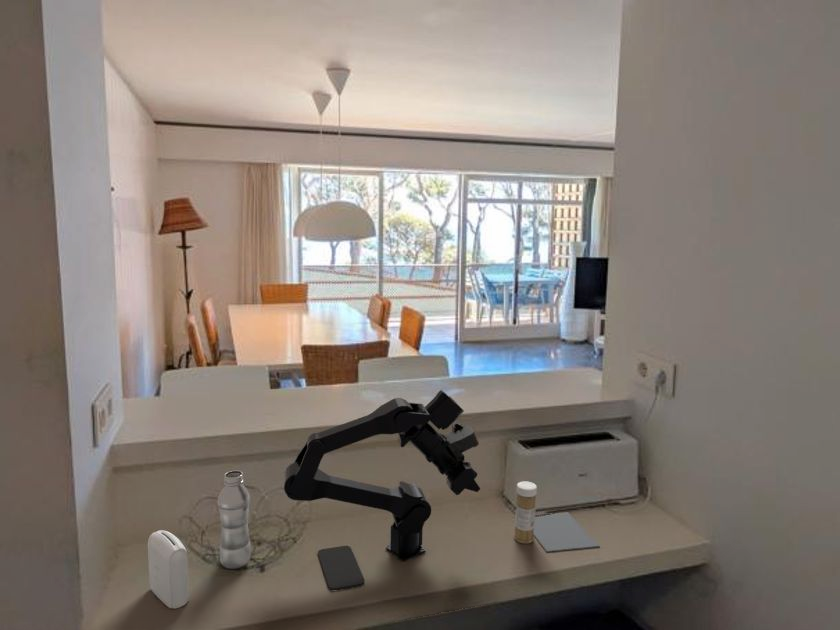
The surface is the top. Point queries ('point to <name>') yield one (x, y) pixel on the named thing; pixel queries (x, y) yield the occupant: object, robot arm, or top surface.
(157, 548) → the photo printer
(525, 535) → the sprinkles bottle
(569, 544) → the mat
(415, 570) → the top surface
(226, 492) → the plastic bottle
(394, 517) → the robot arm
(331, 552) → the phone
